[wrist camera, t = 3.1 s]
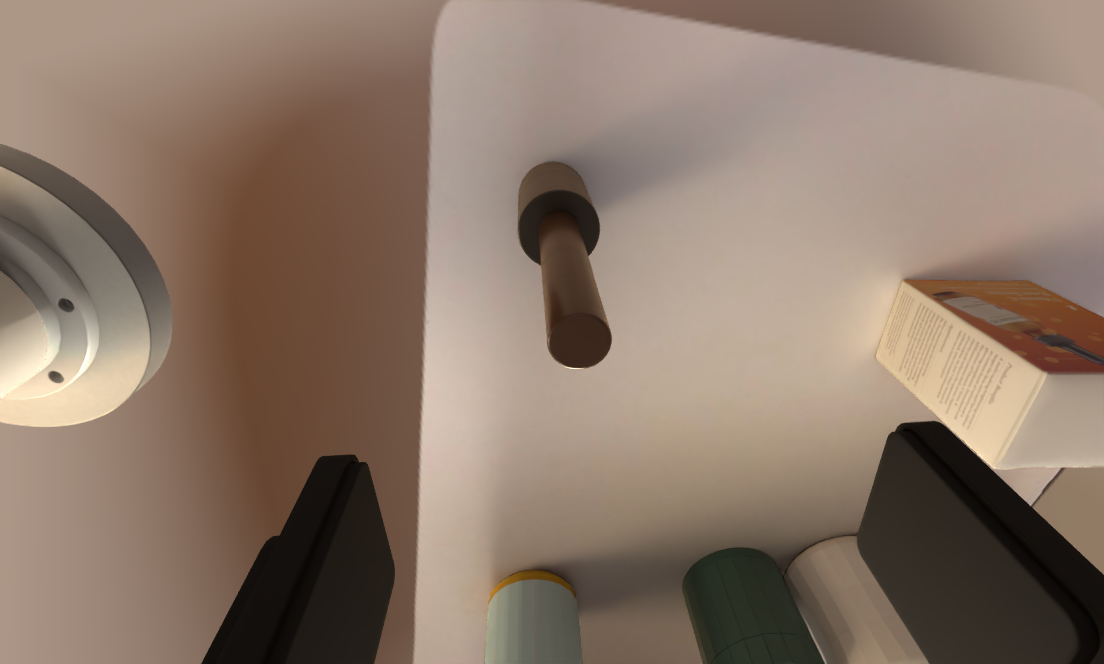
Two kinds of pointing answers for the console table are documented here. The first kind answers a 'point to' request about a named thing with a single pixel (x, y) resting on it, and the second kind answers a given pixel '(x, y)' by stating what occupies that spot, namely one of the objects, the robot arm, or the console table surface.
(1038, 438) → the small box
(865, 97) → the console table surface
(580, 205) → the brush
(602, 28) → the console table surface
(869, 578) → the mug
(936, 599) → the robot arm
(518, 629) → the bottle
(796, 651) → the green pen holder
